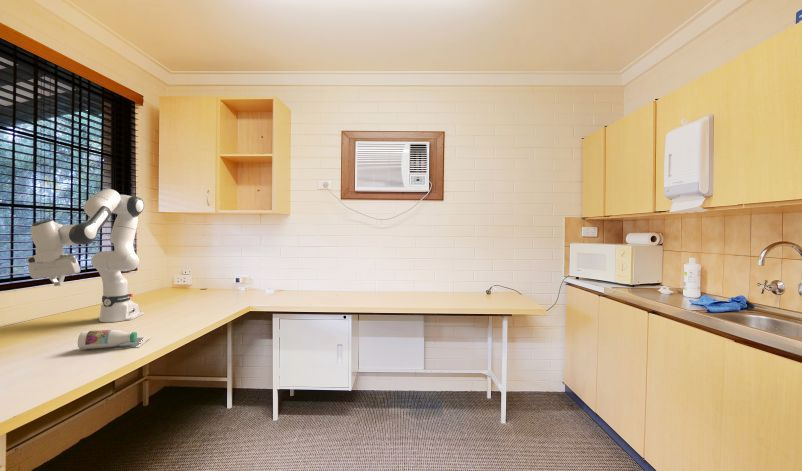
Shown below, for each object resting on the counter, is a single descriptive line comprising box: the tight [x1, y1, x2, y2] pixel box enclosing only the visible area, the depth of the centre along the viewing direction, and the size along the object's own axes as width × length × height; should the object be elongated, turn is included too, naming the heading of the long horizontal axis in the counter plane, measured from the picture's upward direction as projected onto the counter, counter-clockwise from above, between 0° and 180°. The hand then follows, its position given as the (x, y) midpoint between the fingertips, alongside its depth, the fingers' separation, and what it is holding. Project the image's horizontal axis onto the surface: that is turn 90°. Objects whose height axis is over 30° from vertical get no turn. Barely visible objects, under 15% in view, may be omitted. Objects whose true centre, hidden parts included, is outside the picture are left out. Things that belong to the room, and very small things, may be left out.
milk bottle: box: [77, 329, 138, 350], centre depth 159 cm, size 8×8×20 cm
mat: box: [85, 336, 145, 351], centre depth 165 cm, size 20×14×1 cm
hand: (59, 285), depth 163 cm, fingers closed
